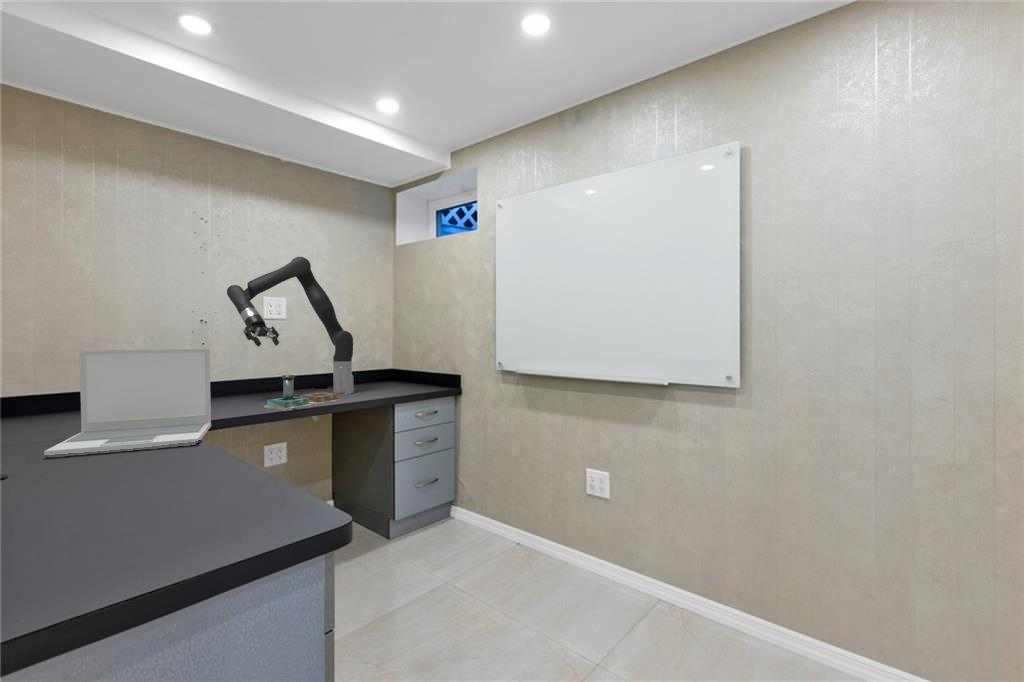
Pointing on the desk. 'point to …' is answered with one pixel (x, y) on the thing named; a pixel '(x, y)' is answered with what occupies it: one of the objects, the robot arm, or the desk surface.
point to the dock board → (300, 401)
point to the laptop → (141, 399)
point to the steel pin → (288, 387)
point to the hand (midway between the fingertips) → (268, 344)
